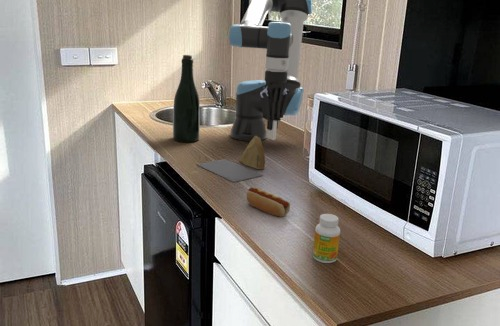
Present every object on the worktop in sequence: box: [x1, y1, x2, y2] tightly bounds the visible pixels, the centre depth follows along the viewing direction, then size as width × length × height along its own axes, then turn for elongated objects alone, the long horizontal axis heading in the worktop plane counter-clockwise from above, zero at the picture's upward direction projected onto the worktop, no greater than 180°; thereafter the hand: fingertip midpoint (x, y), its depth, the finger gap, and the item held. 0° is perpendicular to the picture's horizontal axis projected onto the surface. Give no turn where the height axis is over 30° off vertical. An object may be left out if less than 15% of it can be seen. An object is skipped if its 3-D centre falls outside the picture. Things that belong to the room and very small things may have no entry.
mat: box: [196, 158, 264, 183], centre depth 161 cm, size 12×20×1 cm, turn 41°
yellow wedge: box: [238, 136, 266, 170], centre depth 166 cm, size 11×9×10 cm
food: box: [246, 187, 291, 218], centre depth 131 cm, size 14×6×5 cm, turn 45°
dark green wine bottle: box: [172, 54, 201, 143], centre depth 189 cm, size 10×10×33 cm
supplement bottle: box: [312, 213, 341, 264], centre depth 106 cm, size 5×5×10 cm
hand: (271, 138), depth 170 cm, fingers closed
